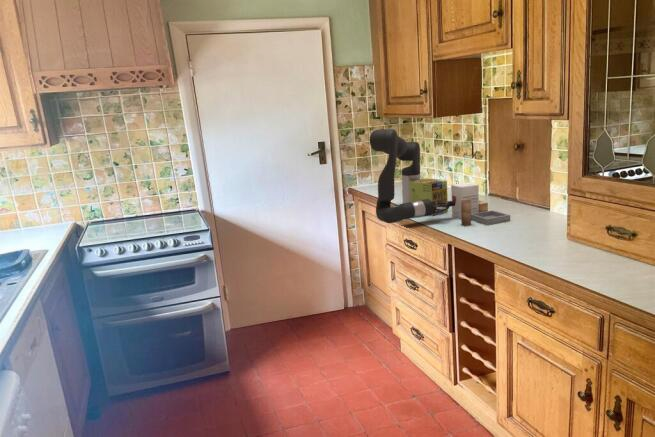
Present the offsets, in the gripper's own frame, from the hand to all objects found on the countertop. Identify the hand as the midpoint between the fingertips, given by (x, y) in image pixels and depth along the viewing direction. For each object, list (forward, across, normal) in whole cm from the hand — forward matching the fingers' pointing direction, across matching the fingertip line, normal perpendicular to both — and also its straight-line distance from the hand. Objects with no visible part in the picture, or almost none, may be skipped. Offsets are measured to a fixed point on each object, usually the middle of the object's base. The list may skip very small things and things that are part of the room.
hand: (454, 203), depth 234 cm
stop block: (+12, 0, +7) cm, 14 cm away
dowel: (-3, -13, +7) cm, 15 cm away
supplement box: (+5, 0, +7) cm, 9 cm away
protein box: (-2, +18, +7) cm, 20 cm away
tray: (+9, -13, +7) cm, 18 cm away
